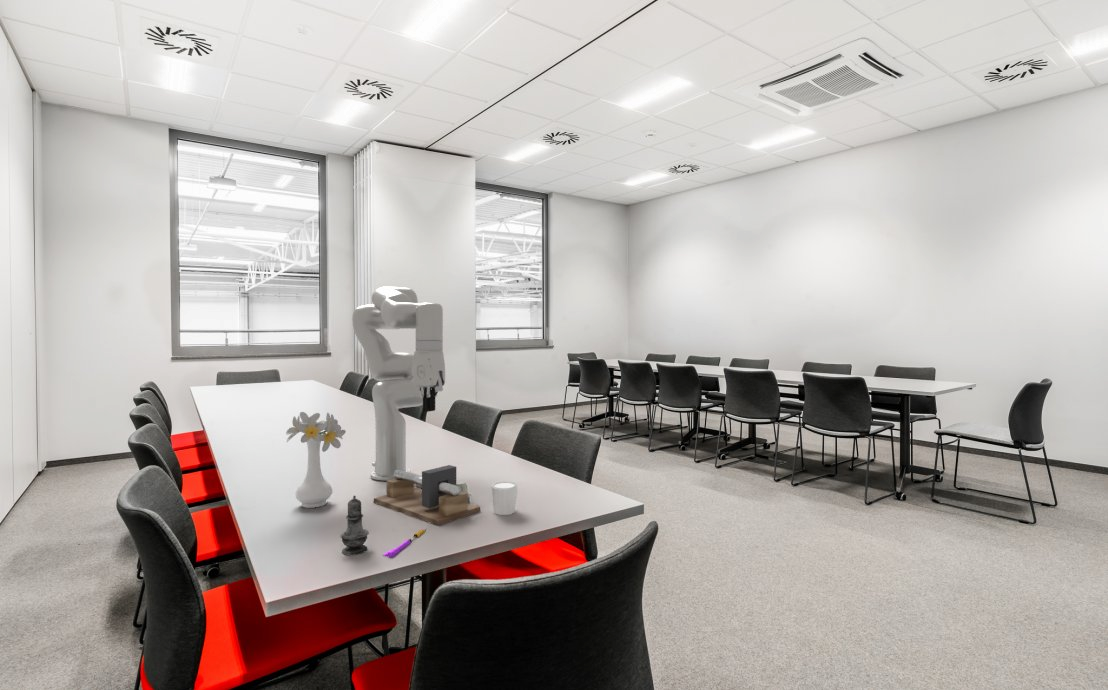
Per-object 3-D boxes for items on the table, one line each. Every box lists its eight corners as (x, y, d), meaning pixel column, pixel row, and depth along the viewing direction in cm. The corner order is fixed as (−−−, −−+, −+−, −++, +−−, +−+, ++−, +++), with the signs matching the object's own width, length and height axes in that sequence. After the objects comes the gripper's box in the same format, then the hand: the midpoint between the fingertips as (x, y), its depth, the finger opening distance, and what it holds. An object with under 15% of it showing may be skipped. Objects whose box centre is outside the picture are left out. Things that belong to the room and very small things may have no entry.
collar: (421, 506, 141) (421, 471, 141) (449, 497, 148) (449, 465, 148) (429, 508, 139) (429, 473, 139) (456, 500, 146) (456, 466, 146)
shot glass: (510, 517, 139) (510, 490, 139) (486, 513, 142) (486, 487, 142) (521, 509, 146) (521, 483, 146) (498, 506, 148) (498, 480, 148)
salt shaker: (352, 557, 114) (351, 501, 114) (334, 551, 117) (334, 496, 117) (374, 548, 119) (374, 494, 119) (357, 542, 122) (356, 489, 122)
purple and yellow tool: (392, 558, 114) (427, 531, 130) (391, 552, 114) (426, 527, 130) (381, 560, 115) (417, 533, 130) (380, 554, 115) (416, 528, 130)
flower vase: (321, 517, 139) (320, 419, 138) (273, 506, 147) (272, 414, 146) (360, 502, 150) (359, 412, 150) (313, 493, 159) (313, 408, 158)
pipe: (393, 479, 155) (393, 470, 154) (401, 477, 157) (401, 468, 157) (453, 497, 138) (453, 487, 138) (461, 495, 140) (461, 484, 140)
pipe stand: (373, 502, 151) (373, 482, 151) (415, 491, 162) (415, 472, 162) (437, 525, 133) (437, 503, 133) (480, 511, 144) (480, 490, 144)
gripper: (402, 346, 157) (402, 409, 157) (435, 347, 147) (435, 415, 148) (423, 345, 162) (423, 406, 163) (456, 347, 153) (456, 412, 153)
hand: (429, 410), depth 155 cm, fingers closed
